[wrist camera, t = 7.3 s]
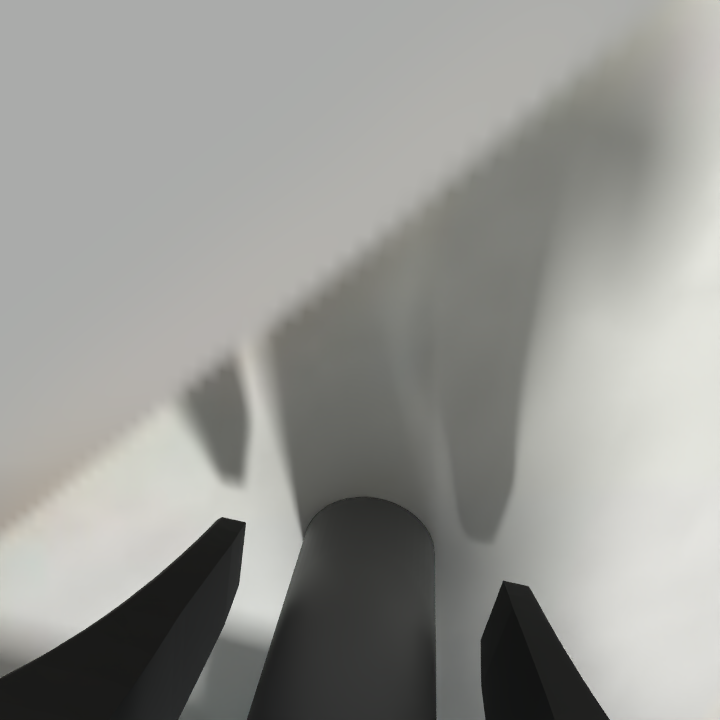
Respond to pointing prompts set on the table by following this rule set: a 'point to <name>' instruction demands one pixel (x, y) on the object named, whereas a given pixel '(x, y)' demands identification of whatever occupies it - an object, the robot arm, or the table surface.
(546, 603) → the table surface
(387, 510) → the block
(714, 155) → the table surface
